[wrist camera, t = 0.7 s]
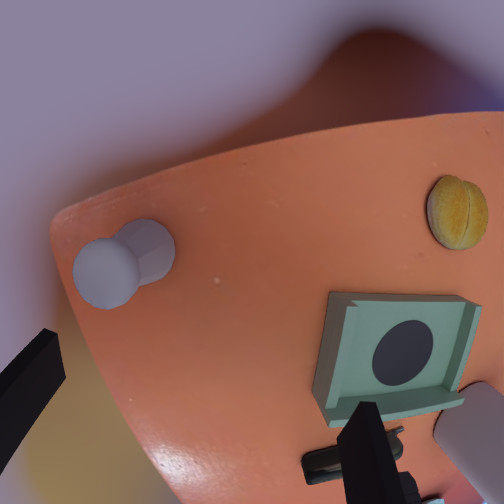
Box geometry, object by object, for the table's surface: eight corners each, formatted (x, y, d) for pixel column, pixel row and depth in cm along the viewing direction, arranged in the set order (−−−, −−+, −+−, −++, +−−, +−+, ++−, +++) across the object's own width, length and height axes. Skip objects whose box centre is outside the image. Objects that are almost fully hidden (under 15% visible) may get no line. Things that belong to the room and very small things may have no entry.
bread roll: (427, 169, 30) (448, 166, 26) (478, 189, 31) (499, 188, 27) (417, 242, 31) (438, 246, 27) (469, 253, 32) (490, 258, 28)
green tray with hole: (329, 291, 31) (355, 313, 24) (457, 295, 33) (493, 311, 26) (311, 391, 33) (328, 428, 26) (434, 379, 34) (462, 404, 27)
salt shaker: (112, 257, 29) (45, 291, 16) (139, 206, 28) (78, 208, 16) (162, 288, 30) (120, 342, 17) (190, 237, 29) (162, 261, 16)
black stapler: (307, 490, 30) (414, 457, 30) (306, 477, 29) (418, 443, 30) (300, 464, 35) (400, 436, 35) (299, 451, 34) (403, 422, 35)
